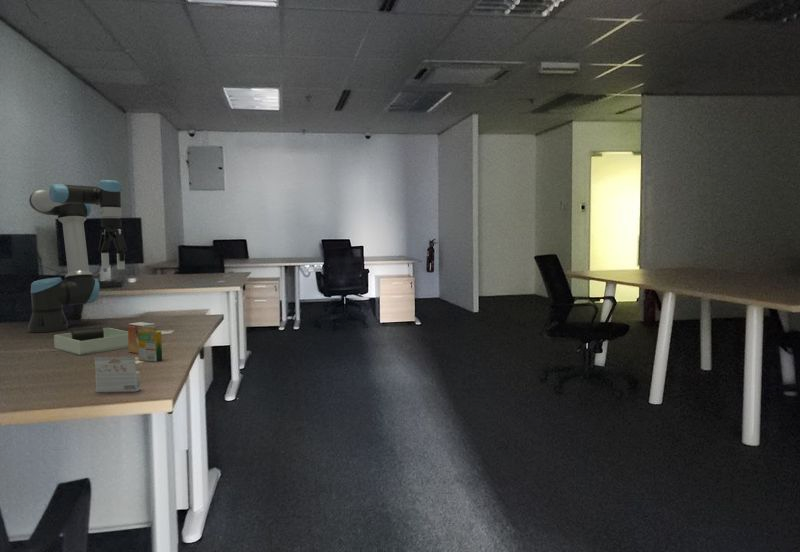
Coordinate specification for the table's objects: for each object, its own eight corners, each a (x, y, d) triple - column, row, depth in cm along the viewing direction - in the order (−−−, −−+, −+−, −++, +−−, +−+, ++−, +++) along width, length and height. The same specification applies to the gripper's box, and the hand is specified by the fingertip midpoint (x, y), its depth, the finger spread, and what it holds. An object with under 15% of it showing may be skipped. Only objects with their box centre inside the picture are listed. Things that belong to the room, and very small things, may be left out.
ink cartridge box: (100, 389, 143) (98, 354, 142) (141, 389, 143) (139, 354, 142) (95, 392, 140) (93, 356, 139) (137, 392, 140) (135, 356, 140)
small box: (128, 352, 190) (127, 323, 189) (142, 349, 194) (141, 321, 194) (142, 354, 186) (141, 325, 185) (156, 351, 191) (155, 323, 190)
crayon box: (162, 359, 178) (161, 326, 177) (156, 361, 175) (155, 327, 174) (144, 358, 180) (143, 325, 179) (138, 360, 177) (137, 326, 176)
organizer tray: (54, 347, 197) (53, 334, 197) (109, 339, 213) (108, 327, 213) (80, 355, 184) (79, 341, 184) (136, 346, 200) (136, 333, 200)
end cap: (73, 349, 191) (72, 331, 190) (70, 346, 196) (69, 328, 196) (104, 345, 197) (103, 328, 197) (100, 343, 202) (99, 325, 202)
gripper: (87, 218, 221) (90, 268, 223) (116, 216, 206) (118, 270, 208) (106, 218, 227) (108, 267, 229) (135, 217, 213) (137, 269, 214)
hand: (113, 268), depth 218 cm, fingers open, 13 cm apart
